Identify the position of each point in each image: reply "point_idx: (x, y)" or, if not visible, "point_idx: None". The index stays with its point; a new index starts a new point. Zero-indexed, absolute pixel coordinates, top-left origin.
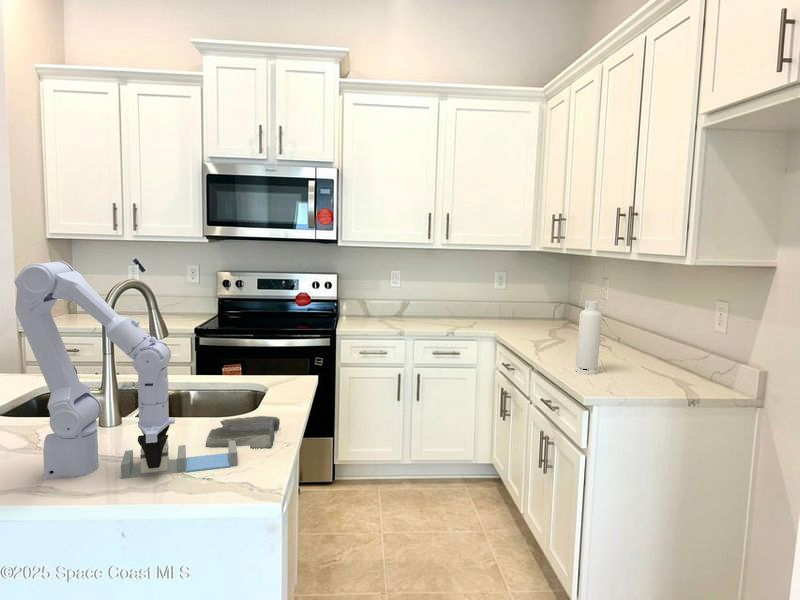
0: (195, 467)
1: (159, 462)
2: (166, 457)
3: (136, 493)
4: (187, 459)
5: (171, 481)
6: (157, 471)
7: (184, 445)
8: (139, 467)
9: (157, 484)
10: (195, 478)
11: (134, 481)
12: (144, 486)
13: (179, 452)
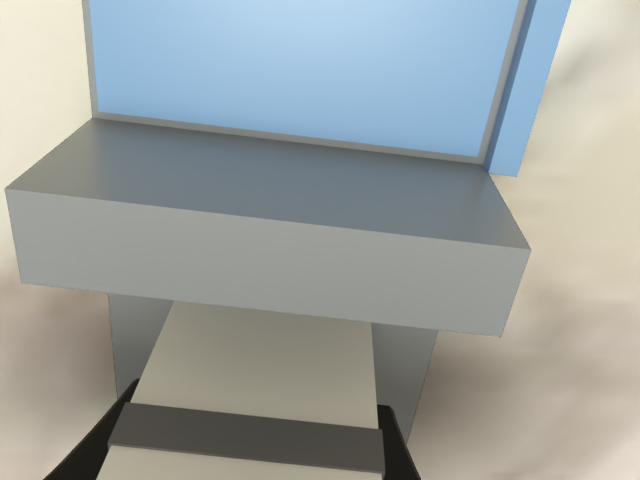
0: (459, 44)
1: (405, 449)
2: (376, 421)
3: (602, 475)
4: (170, 111)
5: (545, 272)
6: None
7: (22, 206)
8: None
9: (537, 365)
10: (621, 54)
11: None
12: (518, 434)
13: (289, 293)
